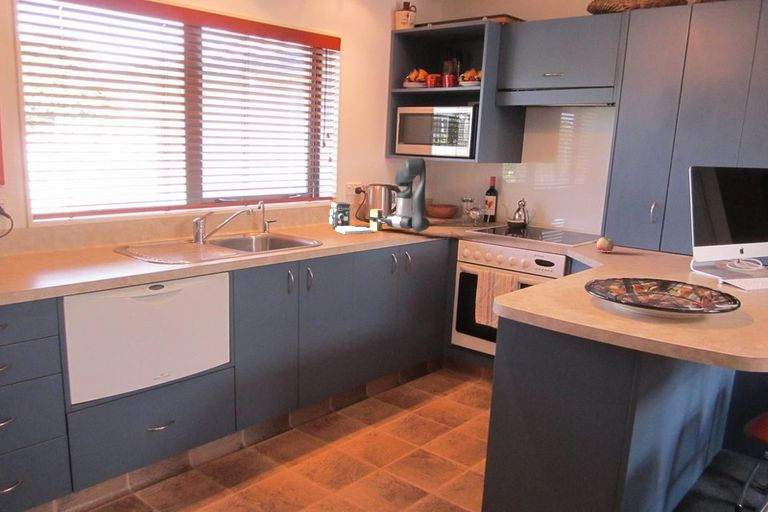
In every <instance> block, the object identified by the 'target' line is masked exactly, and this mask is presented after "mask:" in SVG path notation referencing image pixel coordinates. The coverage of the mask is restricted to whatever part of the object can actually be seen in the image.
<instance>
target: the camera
mask: <svg viewBox="0 0 768 512" xmlns="http://www.w3.org/2000/svg"><path fill="white" fill-rule="evenodd" d="M330 207H331V208H330V210H329V214H328V218H329V224H330V226H332V228H334V229H335V228H337V227H339V226H351V224H350V223H351V222H350V221H351V208H350V207H351V203H348V202H343V201H342V202H341V201H333V202H331V203H330Z"/></svg>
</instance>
